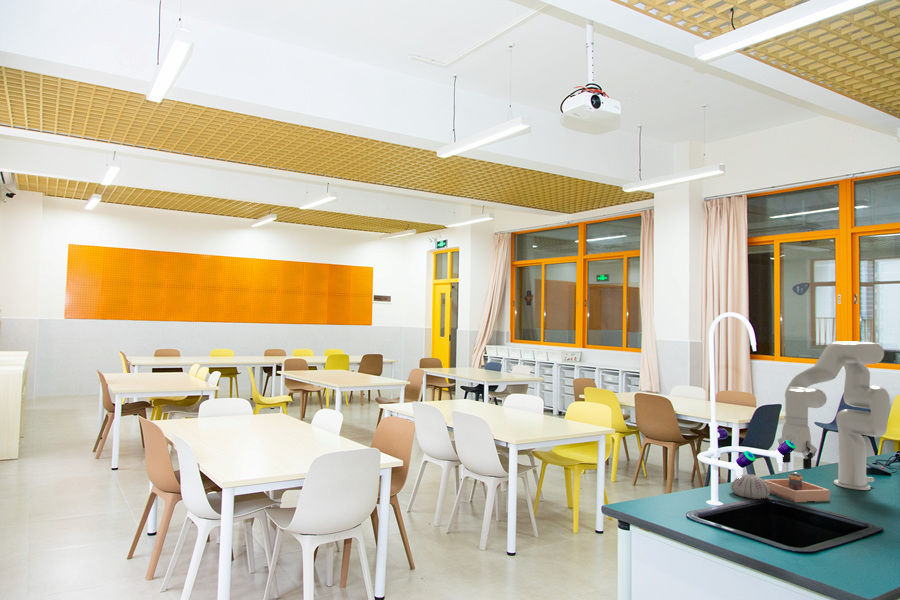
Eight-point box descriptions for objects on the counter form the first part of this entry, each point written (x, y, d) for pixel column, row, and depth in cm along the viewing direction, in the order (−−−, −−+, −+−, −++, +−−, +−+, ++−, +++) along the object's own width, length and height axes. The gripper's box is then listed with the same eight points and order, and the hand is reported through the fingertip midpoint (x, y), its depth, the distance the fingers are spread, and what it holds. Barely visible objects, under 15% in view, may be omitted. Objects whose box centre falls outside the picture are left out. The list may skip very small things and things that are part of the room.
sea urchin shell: (773, 503, 215) (773, 481, 215) (733, 498, 219) (733, 476, 219) (766, 493, 227) (766, 472, 227) (728, 489, 231) (728, 468, 232)
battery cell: (795, 490, 228) (795, 471, 229) (804, 494, 224) (805, 474, 224) (785, 491, 227) (786, 471, 228) (795, 494, 223) (795, 474, 223)
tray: (794, 488, 236) (795, 478, 236) (829, 500, 220) (830, 490, 220) (761, 489, 232) (762, 479, 232) (795, 502, 216) (795, 491, 216)
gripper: (771, 417, 234) (771, 460, 234) (807, 425, 218) (807, 472, 217) (786, 417, 236) (786, 459, 236) (823, 425, 220) (823, 470, 219)
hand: (796, 465), depth 227 cm, fingers open, 9 cm apart
